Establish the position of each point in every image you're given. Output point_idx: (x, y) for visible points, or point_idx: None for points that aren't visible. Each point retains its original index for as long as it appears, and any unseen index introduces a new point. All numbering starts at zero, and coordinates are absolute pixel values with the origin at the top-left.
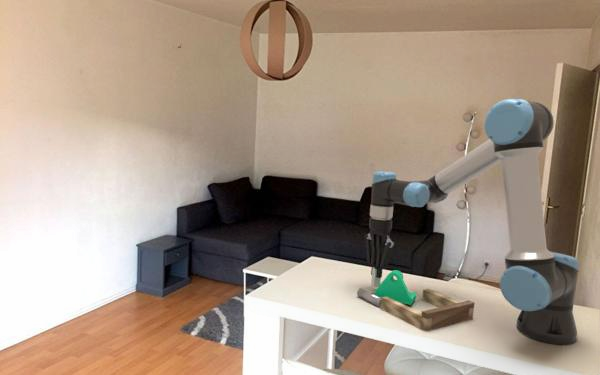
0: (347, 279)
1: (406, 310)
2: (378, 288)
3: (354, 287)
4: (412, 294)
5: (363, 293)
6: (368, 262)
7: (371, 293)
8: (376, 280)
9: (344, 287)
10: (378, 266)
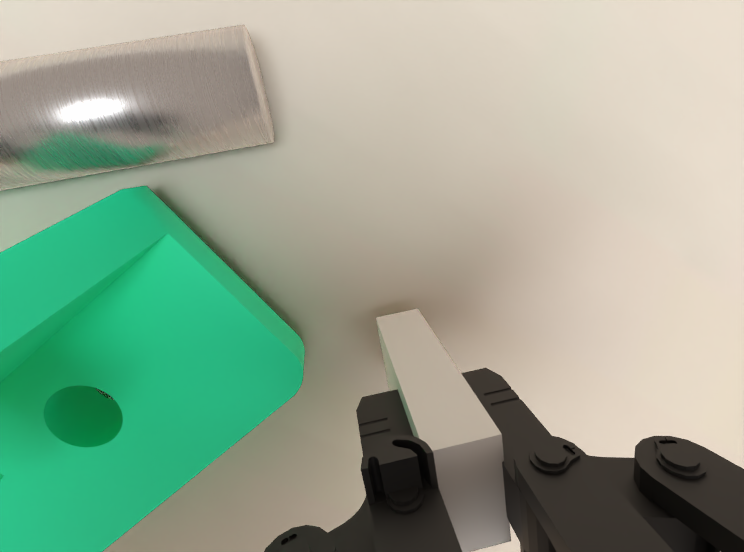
0: (703, 221)
1: None
2: (48, 235)
3: (507, 174)
4: (23, 543)
5: (128, 44)
6: (660, 447)
7: (21, 104)
8: (391, 373)
9: (541, 68)
10: (371, 523)
